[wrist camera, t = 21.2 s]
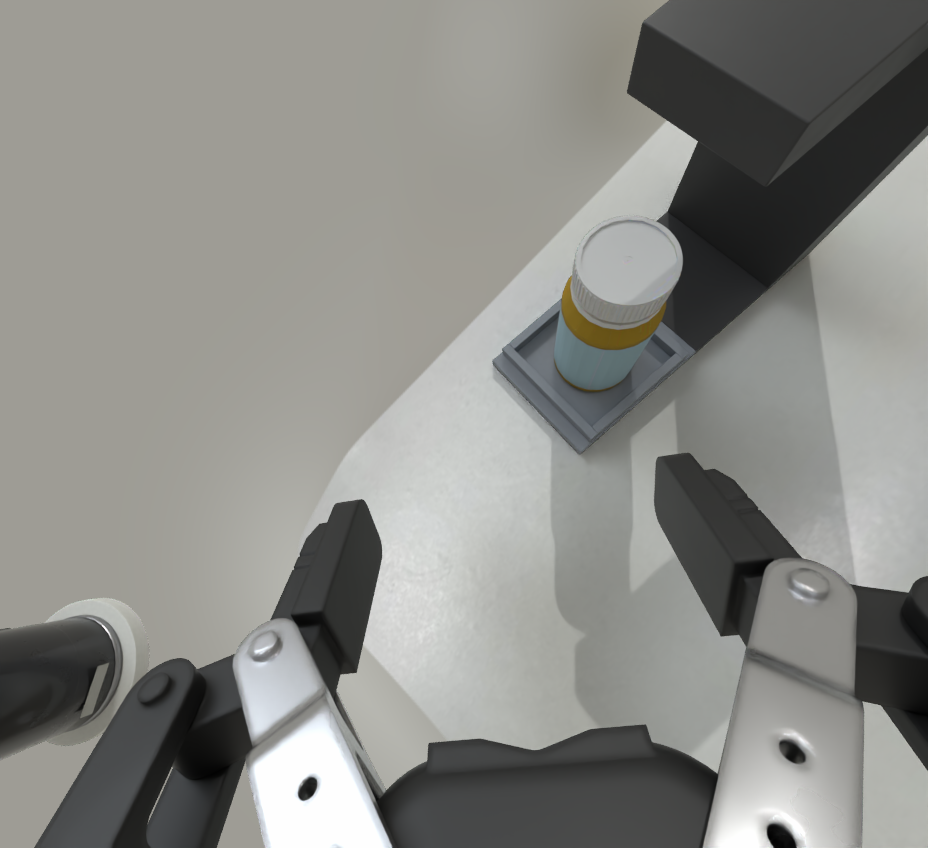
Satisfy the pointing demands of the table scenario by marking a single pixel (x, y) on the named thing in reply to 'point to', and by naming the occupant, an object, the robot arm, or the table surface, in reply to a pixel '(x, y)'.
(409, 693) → the table surface
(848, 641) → the robot arm
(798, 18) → the coffee maker
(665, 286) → the bottle
